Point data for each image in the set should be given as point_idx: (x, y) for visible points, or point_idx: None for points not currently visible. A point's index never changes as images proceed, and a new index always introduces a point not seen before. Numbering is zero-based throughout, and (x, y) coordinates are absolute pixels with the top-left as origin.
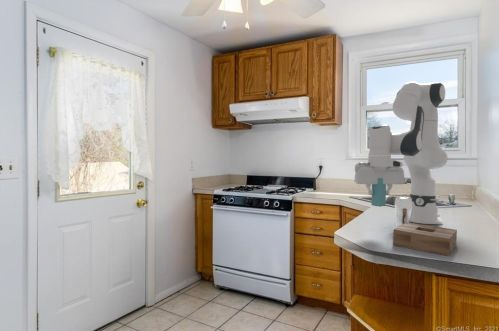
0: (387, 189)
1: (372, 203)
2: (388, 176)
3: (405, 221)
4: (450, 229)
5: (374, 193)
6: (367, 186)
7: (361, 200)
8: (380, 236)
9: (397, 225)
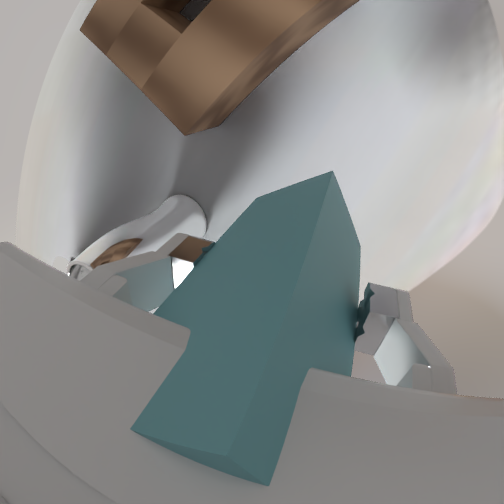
0: (160, 289)
1: (357, 246)
2: (20, 390)
3: (159, 213)
4: (93, 26)
5: (346, 289)
6: (453, 373)
7: None
8: (339, 130)
9: (193, 227)
